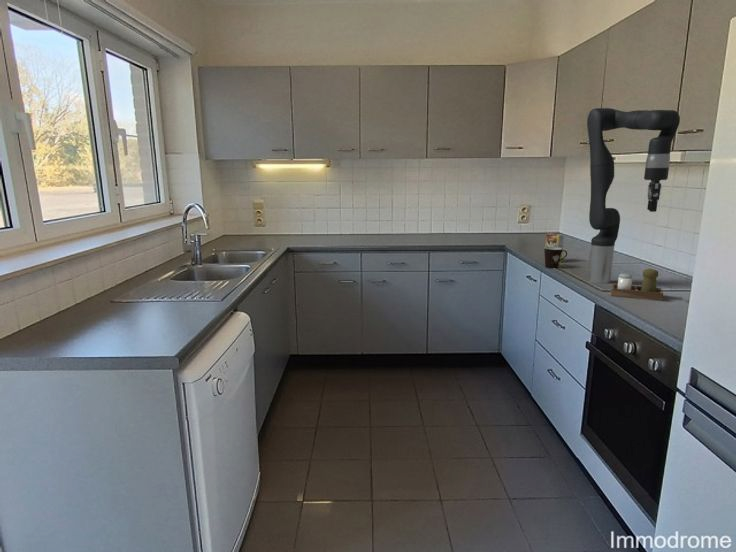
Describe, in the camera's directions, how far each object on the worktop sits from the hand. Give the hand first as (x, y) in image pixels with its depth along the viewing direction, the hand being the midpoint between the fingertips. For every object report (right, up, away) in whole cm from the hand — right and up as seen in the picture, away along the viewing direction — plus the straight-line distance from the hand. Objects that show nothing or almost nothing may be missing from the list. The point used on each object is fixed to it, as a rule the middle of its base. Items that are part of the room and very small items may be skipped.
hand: (651, 210), depth 173 cm
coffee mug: (-10, -20, +65) cm, 69 cm away
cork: (+1, -33, +5) cm, 33 cm away
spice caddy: (-2, -33, +7) cm, 34 cm away
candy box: (-5, -17, +81) cm, 83 cm away
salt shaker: (-6, -32, +8) cm, 34 cm away
